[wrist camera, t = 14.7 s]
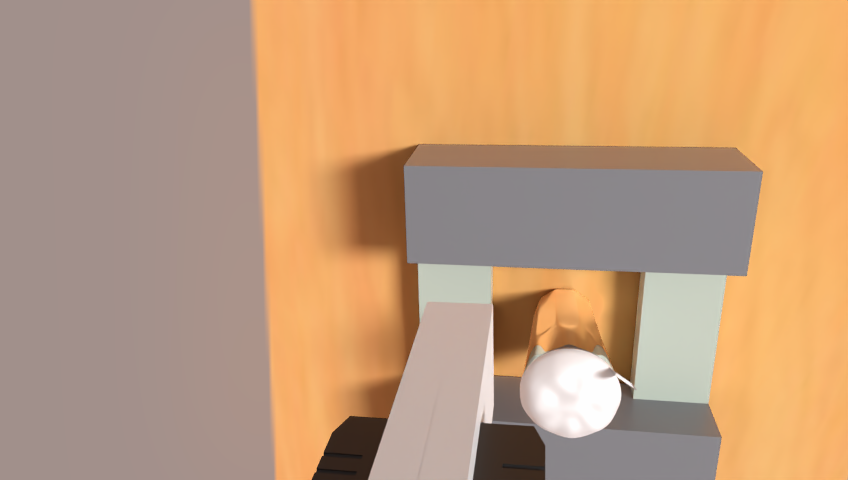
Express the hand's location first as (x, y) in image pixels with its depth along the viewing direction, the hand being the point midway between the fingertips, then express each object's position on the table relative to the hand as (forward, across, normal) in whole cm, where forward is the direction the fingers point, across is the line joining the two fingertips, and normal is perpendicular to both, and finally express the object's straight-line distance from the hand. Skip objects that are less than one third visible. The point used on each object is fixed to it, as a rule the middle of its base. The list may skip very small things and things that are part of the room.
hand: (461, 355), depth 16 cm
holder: (+21, +3, -10) cm, 24 cm away
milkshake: (+22, +4, -10) cm, 24 cm away
